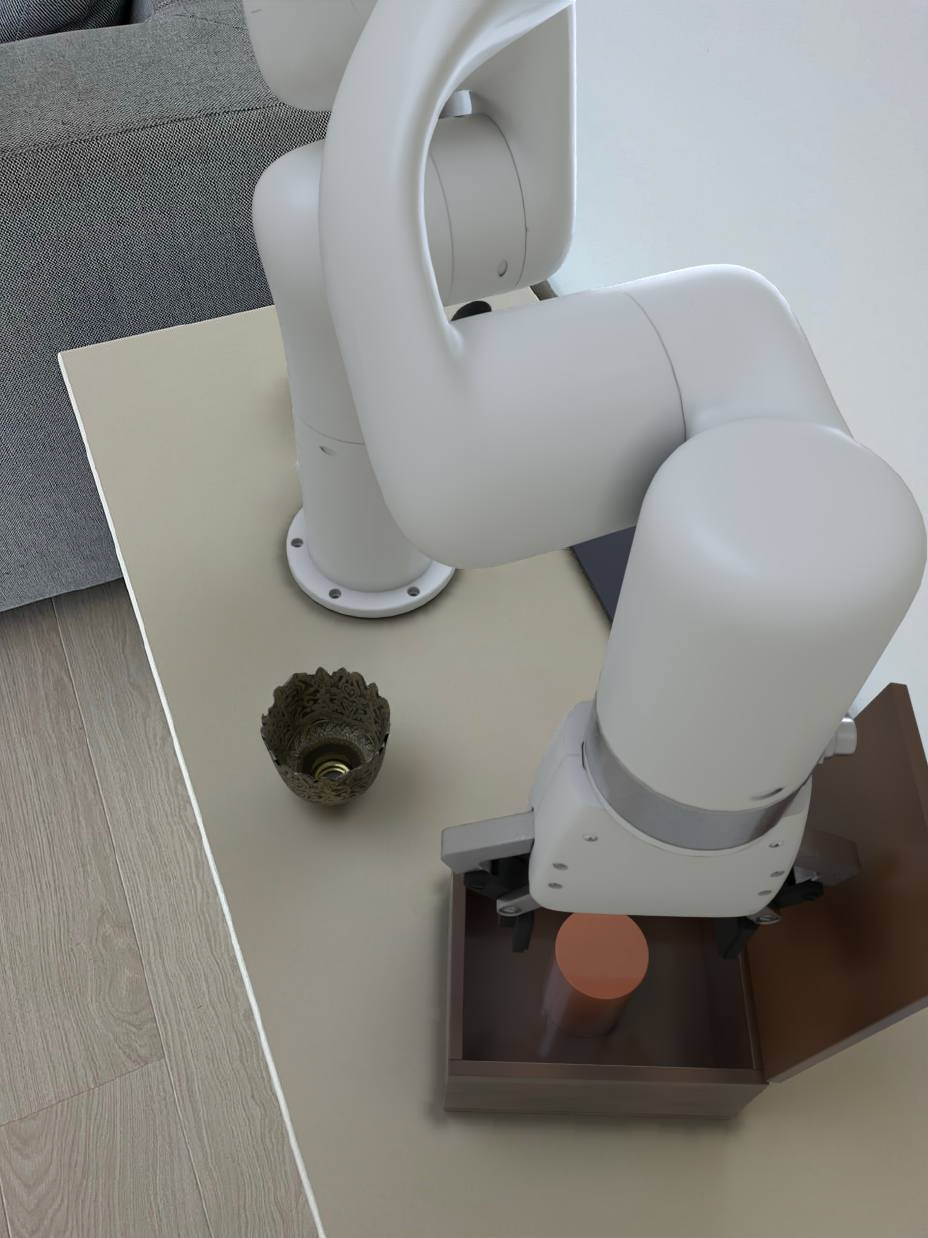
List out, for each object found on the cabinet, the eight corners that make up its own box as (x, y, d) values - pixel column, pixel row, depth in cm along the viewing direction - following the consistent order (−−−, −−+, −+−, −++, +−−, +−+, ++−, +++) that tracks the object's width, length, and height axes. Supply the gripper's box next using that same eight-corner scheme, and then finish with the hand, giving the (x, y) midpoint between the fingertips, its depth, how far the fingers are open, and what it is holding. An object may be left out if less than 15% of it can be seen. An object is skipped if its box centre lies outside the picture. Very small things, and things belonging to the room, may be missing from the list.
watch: (496, 381, 91) (499, 347, 88) (440, 376, 91) (442, 342, 88) (501, 322, 96) (504, 288, 93) (449, 318, 96) (450, 283, 93)
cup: (308, 716, 71) (298, 647, 65) (410, 756, 70) (411, 690, 63) (253, 811, 67) (236, 747, 60) (360, 855, 65) (355, 795, 59)
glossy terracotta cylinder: (629, 1039, 59) (653, 1000, 53) (542, 1036, 59) (556, 997, 53) (621, 924, 63) (642, 877, 57) (539, 922, 63) (552, 874, 57)
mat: (560, 528, 82) (561, 525, 81) (627, 511, 83) (627, 508, 83) (639, 675, 74) (640, 672, 74) (711, 654, 75) (712, 651, 75)
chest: (443, 1111, 57) (447, 1075, 51) (449, 888, 65) (454, 833, 58) (731, 1120, 58) (770, 1085, 51) (704, 897, 65) (736, 843, 59)
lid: (965, 976, 38) (985, 978, 38) (890, 681, 45) (907, 683, 46) (764, 1082, 51) (780, 1083, 51) (731, 839, 58) (745, 840, 58)
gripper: (919, 659, 40) (789, 857, 53) (449, 641, 39) (440, 845, 53) (973, 848, 35) (816, 1011, 49) (443, 830, 35) (434, 999, 48)
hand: (620, 924), depth 51 cm, fingers open, 9 cm apart
